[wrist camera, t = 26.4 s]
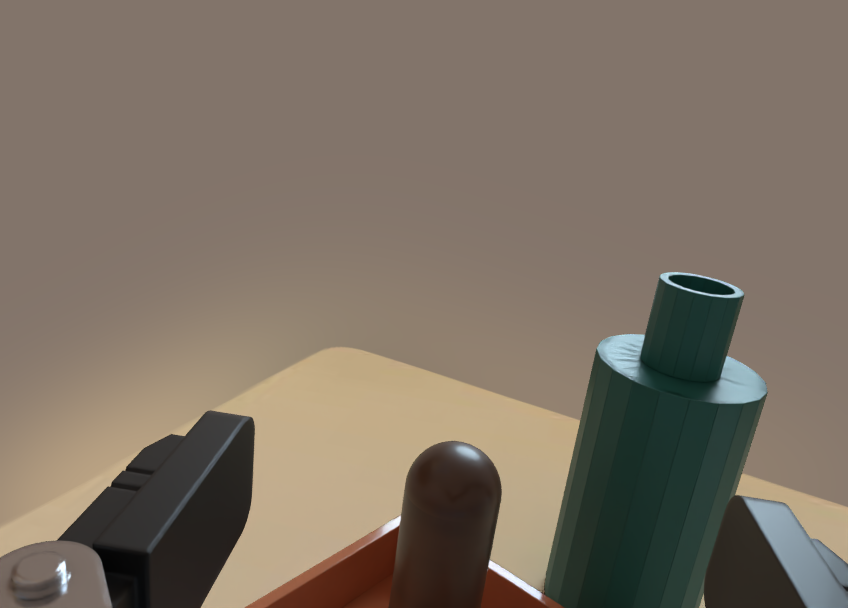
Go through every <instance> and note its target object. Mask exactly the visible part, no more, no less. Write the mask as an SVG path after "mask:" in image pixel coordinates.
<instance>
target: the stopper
mask: <svg viewBox="0 0 848 608" xmlns="http://www.w3.org/2000/svg"><path fill="white" fill-rule="evenodd" d="M501 495H502V489H501V482H500V477H499V474H498V472H497V469H496V467H495V466H494V464H493V462H492V461H491V460H490V459H489V457H488V456H487V455H486V454H485V453H483V452H482V451H481V450H480V449H478V448H476V447H474V446H472V445H470V444H467V443H464V442H458V441H448V442H442V443H438V444H436V445H433V446H431V447H429V448H428V449H426V450H425V451H424V452H422V453H421V454H420V455H419V456H418V457H417V458H416V460H415V461H414V462H413V464H412V466H411V468H410V470H409V472H408V475H407V478H406V483H405V490H404V497H403V505H402V512H401V519H400V527H399V534H398V542H397V549H396V556H395V564H394V571H393V578H392V586H391V593H390V600H389V608H481V603H482V597H483V592H484V587H485V582H486V576H487V571H488V566H489V561H490V555H491V550H492V545H493V540H494V534H495V529H496V524H497V519H498V513H499V508H500V503H501Z"/></svg>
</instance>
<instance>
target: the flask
mask: <svg viewBox="0 0 848 608" xmlns="http://www.w3.org/2000/svg"><path fill="white" fill-rule="evenodd" d="M743 298H744V293H743V291H742V290H740V289H739V288H737V287H735V286H733V285H731V284H728V283H725V282H723V281H720V280H717V279H713V278H709V277H705V276H700V275H695V274H689V273H679V272H678V273H677V272H673V273H664V274H661V275H660V276H659V281H658V285H657V289H656V293H655V297H654V301H653V305H652V309H651V313H650V317H649V321H648V325H647V329H646V333H645V335H635V334H634V335H633V334H626V335H618V336H612V337H609V338H607V339H604V340H602V341H601V342H600V343H599V345H598V347H597V349H596V354H595V358H594V362H593V367H592V371H591V376H590V380H589V385H588V389H587V394H586V398H585V402H584V407H583V412H582V416H581V420H580V425H579V429H578V434H577V438H576V442H575V447H574V451H573V456H572V460H571V465H570V469H569V474H568V478H567V482H566V487H565V491H564V496H563V500H562V505H561V509H560V514H559V518H558V523H557V527H556V531H555V536H554V540H553V545H552V549H551V554H550V558H549V563H548V567H547V571H546V579H545V595H546V596H547V597H549V598H551V599H552V600H554V601H555V602H557V603H558V604H560V605H561V606H563V607H565V608H699V606H700V603H701V600H702V596H703V593H704V580H705V574H706V570H707V567H708V563H709V560H710V557H711V554H712V551H713V548H714V544H715V541H716V538H717V535H718V532H719V528H720V525H721V522H722V519H723V516H724V512H725V509H726V507H727V504H728V502H729V501H730V499H731V498H732V497H733V496H735V493H736V490H737V487H738V484H739V481H740V478H741V474H742V471H743V468H744V465H745V462H746V458H747V456H748V452H749V449H750V446H751V443H752V440H753V437H754V434H755V431H756V427H757V424H758V421H759V418H760V415H761V412H762V409H763V406H764V402H765V399H766V396H767V388H766V383H765V382H764V381H763V380H762V378H761V377H760V376H759V375H758V374H757V373H756V372H755V371H753V370H752V369H750V368H748V367H747V366H745V365H744V364H742V363H741V362H739V361H737V360H735V359H732V358H730V357H728V356H727V353H728V350H729V346H730V343H731V339H732V336H733V332H734V329H735V326H736V322H737V319H738V315H739V312H740V309H741V305H742V302H743Z"/></svg>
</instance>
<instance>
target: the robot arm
mask: <svg viewBox="0 0 848 608" xmlns="http://www.w3.org/2000/svg"><path fill="white" fill-rule="evenodd" d="M254 435H255V426H254V421H253V418H252V417H247V416H241V415H235V414H228V413H222V412H216V411H207V412H206V413H205V414H204V415H203V416H202V417H201V418H200V419H199V421H198V422H197V423H196V424H195V425H194V426H193V427H192V429H191V430H190V431H189V432H188V433H187V434H186V436H179V435H173V434H171V435H169V436H167V437H165V438H163V439H161V440H159V441H157V442H155V443H153V444H151V445H149V446H147V447H145V448H144V449H143V450H142V451H141V452H140V453H139V454H138V455H137V456H136V457H135V458H134V459H133V460H132V461H131V463H130V464H129V465H128V466H127V467H126V470H125V471H122V472H121V473H120V474H119V475H118V476H117V477H116V478H115V479H114V481H113V482H112V484H111V487H107V488H106V489H105V490H104V491H103V492H102V493H101V494H100V495H99V496H98V497H97V498H96V500H95V501H94V502H93V503H92V504H91V505H90V506H89V507H88V508H87V509H86V510H85V511H84V512H83V513H82V514H81V515H80V516H79V518H78V519H77V520H76V521H75V522H74V523H73V524H72V525H71V526H70V527H69V528H68V529H67V530H66V531H65V532H64V533H63V534H62V535H61V537H60V538H59V539H58V540H57V541H46V542H40V543H35V544H31V545H28V546H24V547H22V548H19V549H16V550H14V551H12V552H10V553H8V554H6V555H4V556H2V557H1V558H0V608H200V607H201V606H202V604H203V602H204V600H205V598H206V597H207V595H208V593H209V591H210V589H211V588H212V586H213V584H214V582H215V580H216V579H217V577H218V575H219V573H220V571H221V570H222V568H223V566H224V564H225V563H226V561H227V559H228V557H229V555H230V554H231V552H232V550H233V548H234V546H235V545H236V543H237V541H238V539H239V537H240V536H241V534H242V532H243V529H244V527H245V524H246V521H247V518H248V514H249V510H250V505H251V499H252V482H253V458H254ZM704 600H705V606H706V608H848V564H847V563H846V562H845V561H843V560H842V559H841V558H840V557H839V556H837V555H836V554H835V553H834V552H833V551H831V550H830V549H829V548H828V547H826V546H825V545H824V544H823V543H822V542H820V541H819V540H817V539H811V538H810V537H809V536H808V534H807V533H806V531H805V530H804V528H803V527H802V525H801V524H800V523H799V521H798V520H797V518H796V517H795V515H794V514H793V512H792V511H791V509H790V508H789V507H788V505H786V504H785V503H782V502H776V501H770V500H764V499H758V498H751V497H745V496H739V495H735V496H733V497H732V498H731V499H730V501H729V502H728V504H727V507H726V509H725V512H724V516H723V519H722V522H721V525H720V528H719V532H718V535H717V538H716V541H715V544H714V548H713V551H712V554H711V557H710V560H709V563H708V567H707V570H706V574H705V580H704Z"/></svg>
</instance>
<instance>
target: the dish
mask: <svg viewBox="0 0 848 608" xmlns="http://www.w3.org/2000/svg"><path fill="white" fill-rule="evenodd" d="M400 519H401V515H400V516H398V517H396V518H395V519H393V520H391V521H390V522H388V523H386V524H385V525H383V526H381V527H380V528H378V529H376V530H374V531H373V532H371V533H369V534H368V535H366V536H364V537H363V538H361V539H359V540H358V541H356V542H354V543H353V544H351V545H349V546H348V547H346V548H344V549H342V550H341V551H339V552H337V553H336V554H334V555H332V556H331V557H329V558H327V559H326V560H324V561H322V562H321V563H319V564H317V565H316V566H314V567H312V568H310V569H309V570H307V571H305V572H304V573H302V574H300V575H299V576H297V577H295V578H294V579H292V580H290V581H289V582H287V583H285V584H284V585H282V586H280V587H278V588H277V589H275V590H273V591H272V592H270V593H268V594H267V595H265V596H263V597H262V598H260V599H258V600H257V601H255V602H253V603H252V604H250V605H248V606H246V607H245V608H389V600H390V593H391V586H392V578H393V571H394V564H395V556H396V549H397V542H398V534H399V527H400ZM481 608H565V607H563V606H561V605H560V604H558V603H557V602H555V601H554V600H552V599H551V598H549V597H547V596H546V595H544V594H543V593H541V592H540V591H538V590H537V589H535V588H533V587H532V586H530V585H529V584H527V583H526V582H524V581H523V580H521V579H519V578H518V577H516V576H515V575H513V574H512V573H510V572H508V571H507V570H505V569H504V568H502V567H501V566H499V565H498V564H496V563H494V562H493V561H491V560H490V561H489V566H488V571H487V576H486V582H485V587H484V592H483V597H482V603H481Z"/></svg>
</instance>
